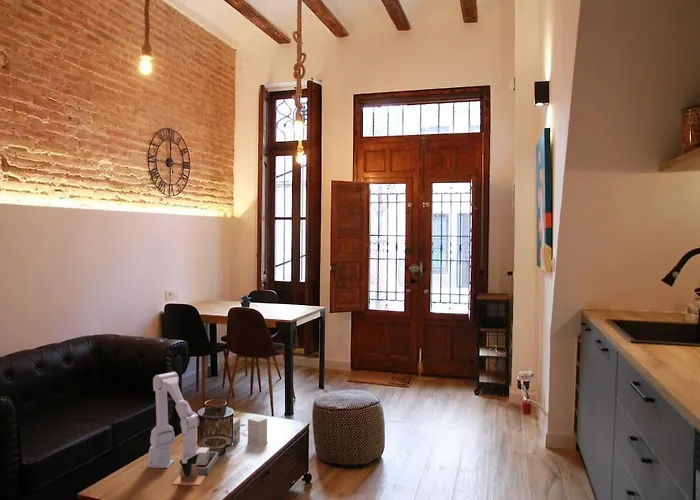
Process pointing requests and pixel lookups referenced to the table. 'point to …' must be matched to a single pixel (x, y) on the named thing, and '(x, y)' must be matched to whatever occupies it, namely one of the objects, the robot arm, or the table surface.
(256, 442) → the small box
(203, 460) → the white box
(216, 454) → the bin
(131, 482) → the table surface
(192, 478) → the walnut box
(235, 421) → the ink box
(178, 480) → the tile
